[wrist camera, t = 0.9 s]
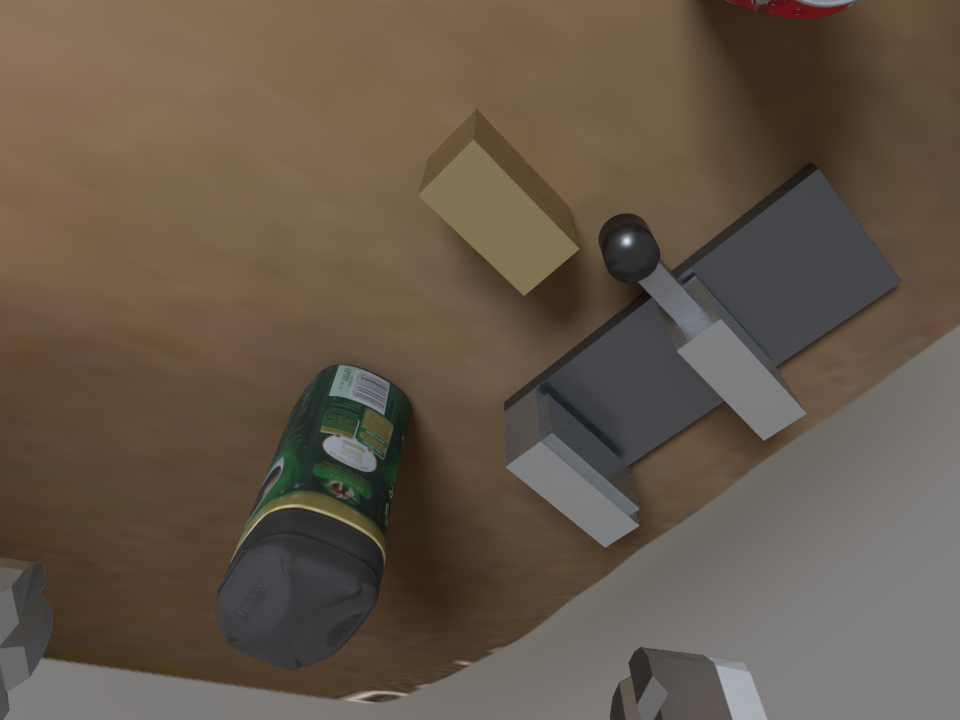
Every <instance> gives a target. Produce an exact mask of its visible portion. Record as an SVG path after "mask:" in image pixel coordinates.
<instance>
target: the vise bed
mask: <svg viewBox="0 0 960 720" xmlns="http://www.w3.org/2000/svg"><path fill="white" fill-rule="evenodd" d="M672 272H673V273H674V274H675V276H676V277H677V278H678V279H679V280H680V281H681V282H682V283H683V284H685V283H687V282H688V281H689V280H691V279H692V278H693V277H694V276H697V278H698V279H699V280H700V281H701V282H702V283H703V284H704V285H705V287H706V288H707V289H708V290H709V291H710V292H711V293H712V294H713V295H714V297H715V298H716V299H717V300H718V301H719V302H720V303H721V304H722V305H723V307H724V308H725V309H726V310H727V311H728V312H729V313H730V314H731V316H732V317H733V318H734V319H735V320H736V321H737V322H738V323H739V324H740V326H741V327H742V328H743V329H744V330H745V331H746V332H747V333H748V334H749V336H750V337H751V338H752V339H753V340H754V341H755V342H756V343H757V345H758V346H759V347H760V348H761V349H762V350H763V351H764V352H765V353H766V355H767V356H768V357H769V358H770V359H771V360H772V361H773V362H774V363H775V365H776V366H778V365H779V364H781V363H782V362H784V361H785V360H786V359H788V358H789V357H791V356H792V355H794V354H795V353H797V352H798V351H800V350H801V349H803V348H804V347H806V346H807V345H809V344H810V343H812V342H813V341H815V340H816V339H818V338H819V337H821V336H822V335H824V334H825V333H827V332H828V331H830V330H831V329H833V328H834V327H836V326H837V325H839V324H840V323H842V322H843V321H845V320H846V319H848V318H849V317H850V316H852V315H853V314H855V313H856V312H858V311H859V310H861V309H862V308H864V307H865V306H867V305H868V304H870V303H871V302H873V301H874V300H876V299H877V298H879V297H880V296H882V295H883V294H885V293H886V292H888V291H889V290H891V289H892V288H894V287H895V286H897V285H898V284H900V283H901V282H902V281H901V280H900V278H899V277H898V275H897V274H896V273H895V271H894V270H893V269H892V267H891V266H890V265H889V263H888V262H887V261H886V259H885V258H884V256H883V255H882V254H881V252H880V251H879V250H878V248H877V247H876V246H875V244H874V243H873V242H872V240H871V239H870V237H869V236H868V235H867V233H866V232H865V231H864V229H863V228H862V227H861V225H860V224H859V223H858V221H857V220H856V219H855V217H854V216H853V214H852V213H851V212H850V210H849V209H848V208H847V206H846V205H845V204H844V202H843V201H842V200H841V198H840V197H839V195H838V194H837V193H836V191H835V190H834V189H833V187H832V186H831V185H830V183H829V182H828V181H827V179H826V178H825V176H824V175H823V174H822V172H821V171H820V170H819V168H817V167H816V166H815V165H813V164H812V163H809V164H808V165H807V166H806V167H804V168H803V169H802V170H801V171H799V172H798V173H797V174H795V175H794V176H793V177H792V178H790V179H789V180H788V181H786V182H785V183H784V184H783V185H781V186H780V187H779V188H778V189H776V190H775V191H774V192H772V193H771V194H770V195H769V196H767V197H766V198H765V199H763V200H762V201H761V202H760V203H758V204H757V205H756V206H755V207H753V208H752V209H751V210H749V211H748V212H747V213H746V214H744V215H743V216H742V217H740V218H739V219H738V220H737V221H735V222H734V223H733V224H732V225H730V226H729V227H728V228H726V229H725V230H724V231H723V232H721V233H720V234H719V235H717V236H716V237H715V238H714V239H712V240H711V241H710V242H709V243H707V244H706V245H705V246H703V247H702V248H701V249H700V250H698V251H697V252H696V253H694V254H693V255H692V256H691V257H689V258H688V259H687V260H685V261H684V262H683V263H682V264H680V265H679V266H678V267H677V268H675V269H674V270H673V271H672ZM657 305H658V302H657V301H656V300H655V299H654V298H653V297H652V296H651V295H650V294H649V293H648V292H647V291H646V292H645V293H643V294H642V295H641V296H639V297H638V298H637V299H636V300H634V301H633V302H632V303H631V304H629V305H628V306H627V307H625V308H624V309H623V310H622V311H620V312H619V313H618V314H616V315H615V316H614V317H613V318H611V319H610V320H609V321H608V322H606V323H605V324H604V325H602V326H601V327H600V328H599V329H597V330H596V331H595V332H593V333H592V334H591V335H590V336H588V337H587V338H586V339H585V340H583V341H582V342H581V343H579V344H578V345H577V346H576V347H574V348H573V349H572V350H570V351H569V352H568V353H567V354H565V355H564V356H563V357H562V358H560V359H559V360H558V361H556V362H555V363H554V364H553V365H551V366H550V367H549V368H547V369H546V370H545V371H544V372H542V373H541V374H540V375H538V376H537V377H536V378H535V379H533V380H532V381H531V382H530V383H528V384H527V385H526V386H524V387H523V388H522V389H521V390H519V391H518V392H517V393H515V394H514V395H513V396H512V397H510V398H509V399H508V400H507V401H505V402H504V410H505V464H506V468H507V469H509V470H510V471H511V472H512V473H514V474H515V475H516V476H517V477H519V478H520V479H521V480H522V481H524V482H525V483H526V484H527V485H528V486H530V487H531V488H532V489H533V490H535V491H536V492H537V493H538V494H540V495H541V496H542V497H543V498H544V499H546V500H547V501H548V502H549V503H551V504H552V505H553V506H554V507H556V508H557V509H558V510H559V511H561V512H562V513H563V514H564V515H565V516H567V517H568V518H569V519H570V520H572V521H573V522H574V523H575V524H577V525H578V526H579V527H580V528H582V529H583V530H584V531H585V532H586V533H588V534H589V535H590V536H591V537H593V538H594V539H595V540H596V541H598V542H599V543H600V544H601V545H602V546H604V547H607V546H608V545H610V544H611V543H613V542H615V541H616V540H618V539H619V538H621V537H623V536H624V535H626V534H627V533H629V532H631V531H632V530H634V529H635V528H637V527H639V526H640V525H639V521H638V517H637V513H636V511H638V510H639V509H640V507H639V503H638V499H637V495H636V491H635V487H634V483H633V479H632V475H631V471H630V467H629V465H630V464H632V463H633V462H635V461H636V460H638V459H639V458H641V457H642V456H644V455H645V454H647V453H648V452H650V451H651V450H653V449H654V448H655V447H657V446H658V445H660V444H661V443H663V442H664V441H666V440H667V439H669V438H670V437H672V436H673V435H675V434H676V433H678V432H679V431H681V430H682V429H684V428H685V427H687V426H688V425H690V424H691V423H693V422H694V421H696V420H697V419H699V418H700V417H702V416H703V415H705V414H706V413H708V412H709V411H711V410H712V409H714V408H715V407H717V406H718V405H719V404H721V403H722V402H724V401H725V400H724V399H723V398H722V397H721V396H720V395H719V394H718V393H717V392H716V391H715V390H714V389H713V388H712V387H711V386H710V385H709V384H708V383H707V382H706V381H705V380H704V379H703V378H702V377H701V376H700V375H699V374H698V373H697V371H696V370H695V369H694V368H693V367H692V366H691V365H690V364H689V363H688V362H687V361H686V360H685V359H684V358H683V357H682V356H681V355H680V354H679V353H678V352H677V351H676V348H675V346H674V344H673V342H672V339H671V337H670V335H669V332H668V330H667V328H666V325H665V323H664V321H663V318H662V316H661V314H660V311H659V309H658V307H657Z"/></svg>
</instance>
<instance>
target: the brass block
mask: <svg viewBox="0 0 960 720" xmlns="http://www.w3.org/2000/svg"><path fill="white" fill-rule="evenodd" d="M418 195H419V196H420V197H421V198H422V199H423V200H424V201H425V202H426V203H427V204H428V205H429V206H430V207H431V208H432V209H433V210H434V211H435V212H436V213H438V214H439V215H440V216H441V217H442V218H443V219H444V220H445V221H446V222H447V223H448V224H449V225H450V226H451V227H452V228H453V229H454V230H455V231H456V232H457V233H458V234H460V235H461V236H462V237H463V238H464V239H465V240H466V241H467V242H468V243H469V244H470V245H471V246H472V247H473V248H474V249H475V250H476V251H477V252H478V253H479V254H481V255H482V256H483V257H484V258H485V259H486V260H487V261H488V262H489V263H490V264H491V265H492V266H493V267H494V268H495V269H496V270H497V271H498V272H499V273H500V274H502V275H503V276H504V277H505V278H506V279H507V280H508V281H509V282H510V283H511V284H512V285H513V286H514V287H515V288H516V289H517V290H518V291H519V292H520V293H521V294H523V295H524V296H525V295H526V294H527V293H528V292H530V291H531V290H532V289H533V288H534V287H535V286H537V285H538V284H539V283H540V282H541V281H542V280H544V279H545V278H546V277H547V276H548V275H550V274H551V273H552V272H553V271H554V270H555V269H557V268H558V267H559V266H560V265H561V264H562V263H564V262H565V261H566V260H567V259H568V258H570V257H571V256H572V255H573V254H574V253H575V252H577V251H578V250H579V245H578V241H577V238H576V234H575V230H574V226H573V223H572V219H571V215H570V211H569V208H568V205H567V204H566V203H565V202H564V201H563V200H562V199H561V198H560V196H559V195H558V194H557V193H556V192H555V191H554V190H553V189H552V188H551V187H550V186H549V185H548V184H547V183H546V182H545V181H544V180H543V178H542V177H541V176H540V175H539V174H538V173H537V172H536V171H535V170H534V169H533V168H532V167H531V166H530V165H529V164H528V163H527V162H526V160H525V159H524V158H523V157H522V156H521V155H520V154H519V153H518V152H517V151H516V150H515V149H514V148H513V147H512V146H511V145H510V144H509V143H508V141H507V140H506V139H505V138H504V137H503V136H502V135H501V134H500V133H499V132H498V131H497V130H496V129H495V128H494V127H493V126H492V125H491V123H490V122H489V121H488V120H487V119H486V118H485V117H484V116H483V115H482V114H481V113H480V112H479V111H478V110H477V109H476V110H475V111H474V112H473V113H472V114H471V115H470V116H469V117H468V118H467V119H466V120H465V121H464V122H463V123H462V124H461V125H460V126H459V127H458V128H457V129H456V130H455V131H454V132H453V133H452V134H451V136H450V137H449V138H448V139H447V140H446V141H445V142H444V143H443V144H442V145H441V146H440V147H439V148H438V149H437V150H436V151H435V152H434V153H433V154H432V155H431V156H430V157H429V159H428V163H427V166H426V170H425V173H424V176H423V180H422V183H421V187H420V190H419V193H418Z"/></svg>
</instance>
